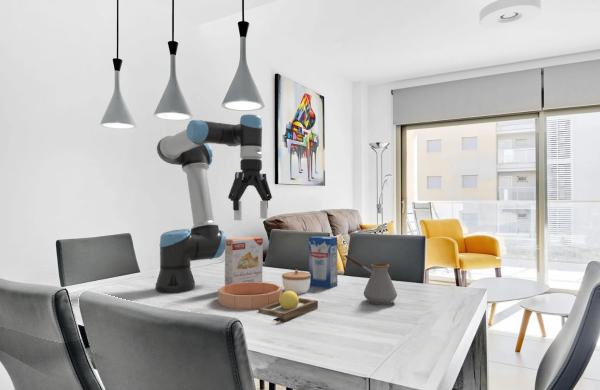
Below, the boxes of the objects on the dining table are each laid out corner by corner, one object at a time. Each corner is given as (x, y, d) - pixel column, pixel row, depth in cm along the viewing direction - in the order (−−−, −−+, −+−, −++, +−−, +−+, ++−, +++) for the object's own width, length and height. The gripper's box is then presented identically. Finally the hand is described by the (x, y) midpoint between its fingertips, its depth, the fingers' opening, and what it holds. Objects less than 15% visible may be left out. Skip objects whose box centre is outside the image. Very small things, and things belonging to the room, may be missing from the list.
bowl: (205, 306, 135) (205, 290, 135) (248, 294, 152) (248, 279, 152) (252, 317, 123) (252, 299, 123) (293, 302, 140) (292, 286, 140)
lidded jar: (307, 299, 145) (307, 273, 145) (278, 297, 147) (278, 272, 147) (313, 292, 155) (312, 267, 155) (285, 291, 158) (285, 267, 158)
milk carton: (337, 285, 167) (337, 237, 167) (330, 288, 161) (330, 238, 162) (316, 283, 172) (316, 236, 172) (309, 285, 167) (308, 237, 167)
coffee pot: (403, 301, 141) (403, 258, 141) (386, 308, 133) (385, 262, 133) (352, 292, 156) (352, 253, 156) (334, 297, 147) (334, 256, 147)
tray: (258, 316, 124) (258, 308, 124) (293, 303, 138) (293, 296, 138) (284, 322, 118) (284, 313, 118) (317, 308, 133) (317, 300, 133)
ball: (275, 310, 127) (275, 291, 127) (287, 306, 132) (287, 287, 132) (291, 314, 124) (290, 294, 124) (302, 309, 129) (302, 290, 129)
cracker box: (232, 296, 149) (232, 239, 149) (224, 294, 153) (223, 238, 153) (263, 291, 158) (263, 237, 158) (254, 288, 162) (254, 236, 163)
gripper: (233, 155, 131) (233, 221, 131) (281, 161, 151) (281, 218, 151) (217, 157, 135) (217, 220, 135) (265, 162, 155) (265, 217, 155)
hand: (251, 219), depth 143 cm, fingers open, 13 cm apart
